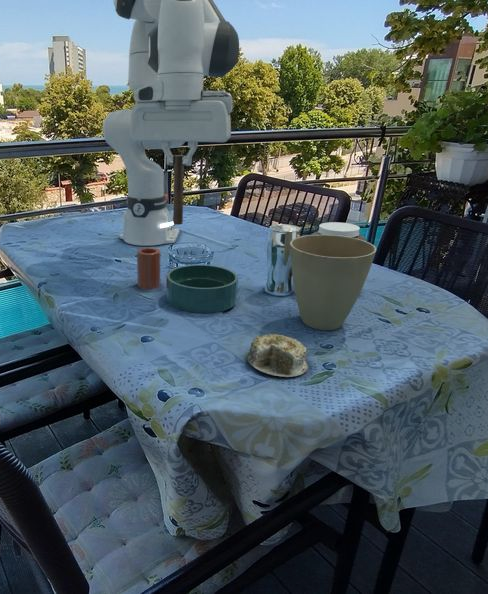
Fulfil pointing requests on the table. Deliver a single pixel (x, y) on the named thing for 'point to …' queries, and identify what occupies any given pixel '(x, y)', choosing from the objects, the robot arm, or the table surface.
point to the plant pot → (328, 277)
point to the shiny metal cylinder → (280, 259)
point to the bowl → (202, 288)
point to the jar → (339, 230)
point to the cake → (278, 355)
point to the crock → (148, 268)
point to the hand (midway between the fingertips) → (178, 165)
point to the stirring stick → (178, 190)
